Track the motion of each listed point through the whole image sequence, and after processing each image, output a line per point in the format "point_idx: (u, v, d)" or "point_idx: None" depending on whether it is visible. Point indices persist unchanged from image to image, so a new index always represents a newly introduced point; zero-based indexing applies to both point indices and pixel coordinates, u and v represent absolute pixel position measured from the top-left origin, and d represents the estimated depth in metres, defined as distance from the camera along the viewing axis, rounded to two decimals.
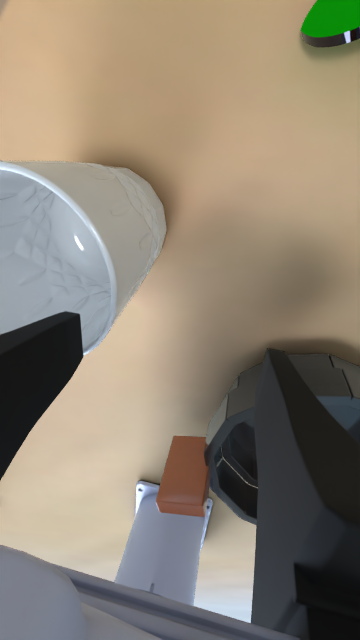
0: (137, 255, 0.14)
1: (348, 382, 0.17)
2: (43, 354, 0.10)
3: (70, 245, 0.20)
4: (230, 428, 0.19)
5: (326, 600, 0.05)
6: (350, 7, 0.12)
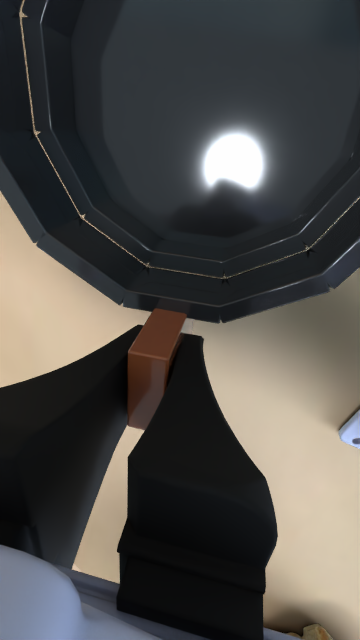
0: None
1: None
2: None
3: None
4: (54, 242, 0.11)
5: (145, 549, 0.05)
6: None
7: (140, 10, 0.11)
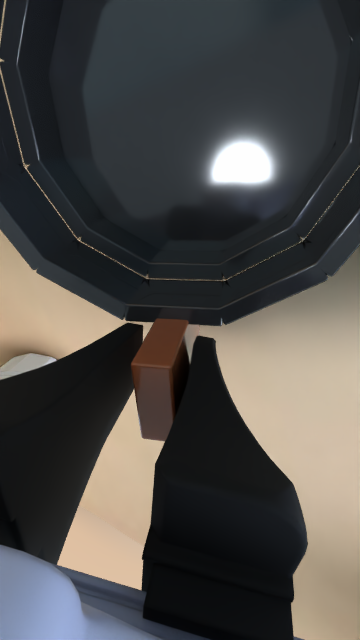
0: None
1: None
2: (116, 369, 0.10)
3: None
4: (52, 267, 0.11)
5: (171, 556, 0.05)
6: None
7: (108, 36, 0.11)
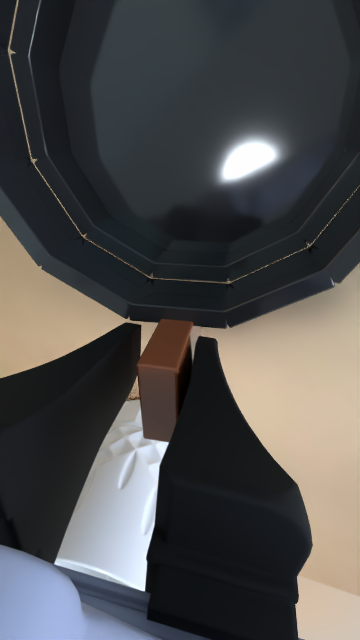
0: None
1: None
2: (114, 369, 0.10)
3: None
4: (57, 263, 0.11)
5: (175, 557, 0.05)
6: None
7: (122, 33, 0.11)
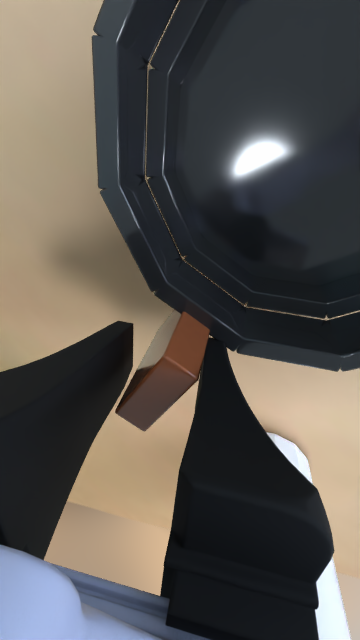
0: None
1: None
2: (105, 367, 0.10)
3: None
4: (122, 200, 0.09)
5: (193, 562, 0.05)
6: None
7: (315, 18, 0.10)
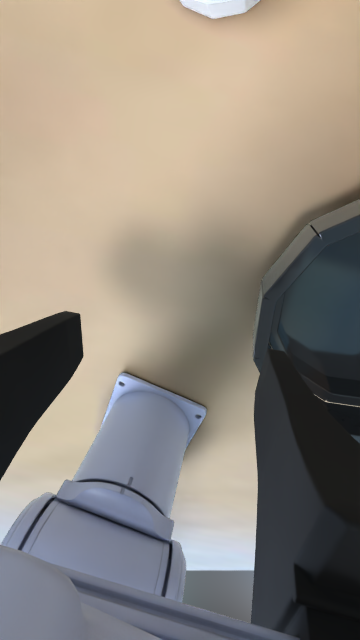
0: None
1: None
2: (43, 354, 0.10)
3: None
4: None
5: (326, 600, 0.05)
6: None
7: None
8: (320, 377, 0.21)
